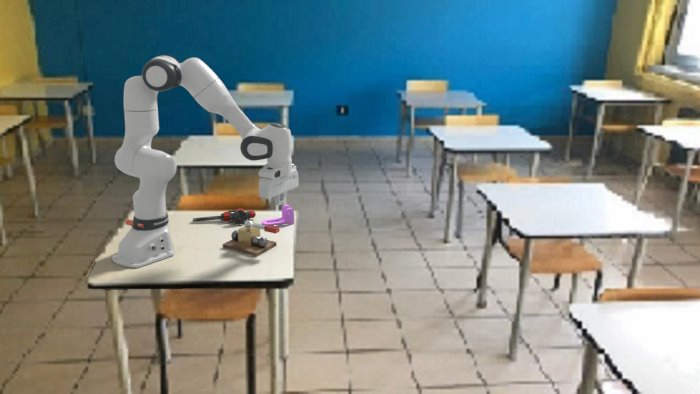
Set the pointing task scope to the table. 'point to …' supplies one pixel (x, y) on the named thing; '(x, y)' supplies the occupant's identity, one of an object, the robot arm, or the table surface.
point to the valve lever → (262, 226)
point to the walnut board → (248, 248)
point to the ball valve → (249, 237)
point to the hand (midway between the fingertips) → (279, 204)
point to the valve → (230, 216)
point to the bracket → (285, 219)
